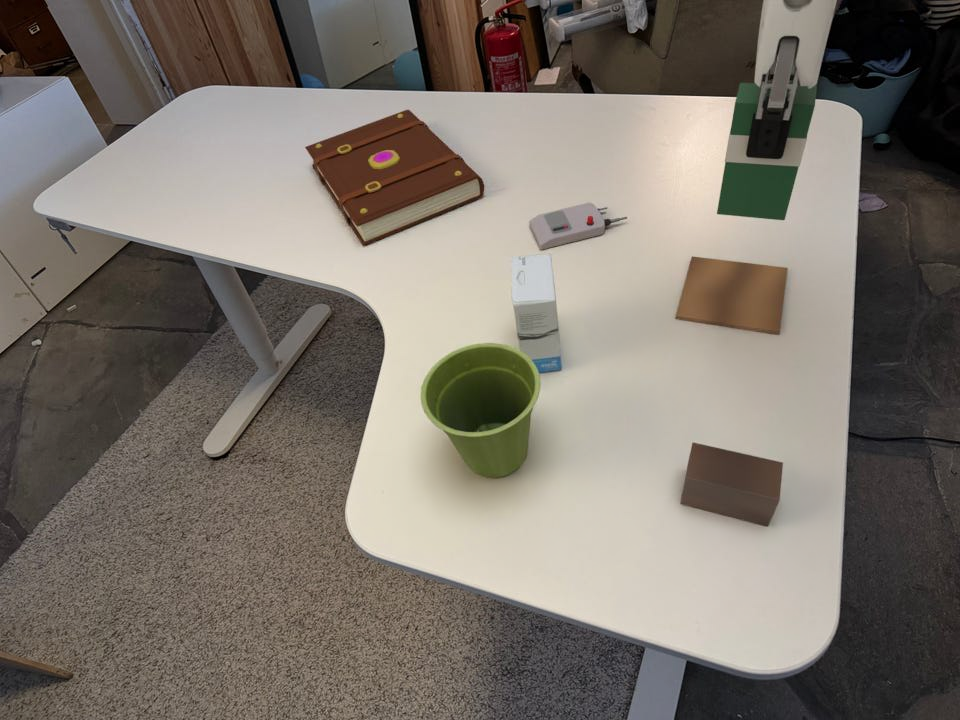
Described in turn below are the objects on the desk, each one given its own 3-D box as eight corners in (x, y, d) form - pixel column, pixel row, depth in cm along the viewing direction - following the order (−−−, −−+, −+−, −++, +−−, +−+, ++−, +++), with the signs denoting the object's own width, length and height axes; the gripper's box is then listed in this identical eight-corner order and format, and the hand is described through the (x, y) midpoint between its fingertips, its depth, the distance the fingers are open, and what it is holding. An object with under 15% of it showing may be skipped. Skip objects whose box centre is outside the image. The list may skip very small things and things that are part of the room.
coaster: (786, 271, 79) (787, 267, 78) (779, 334, 72) (780, 331, 71) (691, 259, 83) (691, 256, 83) (675, 318, 76) (675, 315, 76)
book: (362, 247, 97) (352, 221, 93) (311, 167, 117) (302, 143, 114) (487, 196, 101) (482, 169, 98) (417, 128, 122) (411, 103, 118)
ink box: (562, 371, 73) (557, 300, 65) (521, 375, 74) (511, 304, 65) (557, 322, 79) (551, 250, 70) (519, 326, 79) (509, 255, 71)
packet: (729, 153, 67) (741, 69, 55) (795, 156, 64) (821, 70, 53) (715, 222, 65) (724, 150, 53) (782, 228, 62) (806, 155, 51)
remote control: (518, 228, 94) (516, 212, 92) (614, 204, 94) (615, 188, 92) (528, 253, 89) (526, 237, 87) (630, 228, 90) (631, 211, 88)
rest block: (772, 490, 59) (783, 462, 55) (768, 527, 57) (779, 500, 53) (687, 469, 62) (692, 442, 58) (680, 504, 59) (685, 477, 56)
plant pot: (535, 398, 71) (525, 331, 63) (560, 484, 63) (553, 419, 55) (436, 420, 71) (415, 356, 63) (449, 509, 63) (426, 448, 55)
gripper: (874, -53, 38) (804, 195, 52) (871, -120, 48) (813, 103, 62) (748, -46, 41) (712, 188, 55) (770, -111, 51) (735, 101, 64)
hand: (766, 141), depth 58 cm, fingers closed on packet, 4 cm apart
